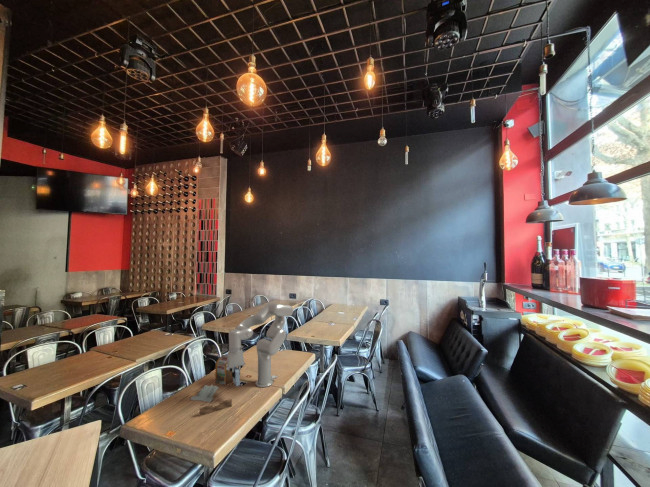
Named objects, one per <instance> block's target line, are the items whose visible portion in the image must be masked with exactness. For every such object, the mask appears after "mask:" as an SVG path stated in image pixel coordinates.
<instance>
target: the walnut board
mask: <svg viewBox="0 0 650 487" xmlns="http://www.w3.org/2000/svg"><path fill="white" fill-rule="evenodd" d="M232 403H233V400H232V398H230V399H226V400H223V401H219V402H218V405H215V406H214V405H213V404H208V405H205V406H202V407H199V412H198V413H199V414H198V415H199V417H201V416H205V415H208V414H211V413H215V412H218V411H221V410H224V409H228V408H232V407H233V406H232V405H233V404H232Z"/></svg>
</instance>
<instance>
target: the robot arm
mask: <svg viewBox="0 0 650 487" xmlns="http://www.w3.org/2000/svg"><path fill="white" fill-rule="evenodd" d="M293 313H294V308H293V306H292V305H289V304H283V303H282V304H281V303H275V302H268V303H267V304H266V305H264V306H263V307H261V309H260V310H259V311H258V312H256V313H255V314H254V315H251V316H249V317H247V318H245V319H244V320H242V321H241V322H240V323H238V325H237V326H236V327H235V329H231V330H229V332H228V350H229V351H227V367H226V370H230V371H231V372H232V377H234V378H235V372H234V367H237V368H238V370H239V371H240V372H241V369H242V368H244V367H245V366H246V363H245V357H244V352H243V349H242V348H244V345H242V341H244V340H248V339H251V338H252V337H253V335H254V330H253V329H252V328H251V327H254V326H259V325H262V324H265V322H266V321H267V320H269V318H270V317H271V316H274V320H273V322H272V323H271V325H270V326H269V328H268V330H266V334H265V335H266V337H267V338H261V339H259V340H258V341H257V343H256V353H257V380H256V381H255V385H256V387H259V388H267V387H270V386H272V385H273V384H274V379H278V375H275V374H273V375H272V356H274V355H276V354H277V353H278V352H279V350H280V348H281V347H282V345H283V343H284V341H285V340H286V336H287V332H286V330H285V329H284V326H285V322H286V318H285V317H287V318H288V317H291V316H292V315H293Z"/></svg>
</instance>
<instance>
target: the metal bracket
mask: <svg viewBox="0 0 650 487" xmlns="http://www.w3.org/2000/svg"><path fill="white" fill-rule="evenodd" d="M219 388H220V387H219V386H217V385H214V386H213V384H211V385H207V384H205V385H204V386H203V387H202V388H201V389H200V390H199V392H198V393H197V394H196V395H193V396H192V397H191V398H190V400H191V401H200V402H206V403H211V402H212V401H213V400H214V397H213V396H214V395H215V393H216V392H217V390H218V389H219Z"/></svg>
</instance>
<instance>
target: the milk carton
mask: <svg viewBox="0 0 650 487" xmlns="http://www.w3.org/2000/svg"><path fill="white" fill-rule="evenodd" d="M227 356H228V354H220V357H219V358H218V359H217V360H216V362H215V372H214V374H215V377H214V378H215V382H214V383H215V384H217V385H218V384H219V385H221V386H224V387H227V386H228V385H230V384H232V383H235V382H234V381H233V377H232V372H231V371H230V370H226V367H227Z"/></svg>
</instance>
